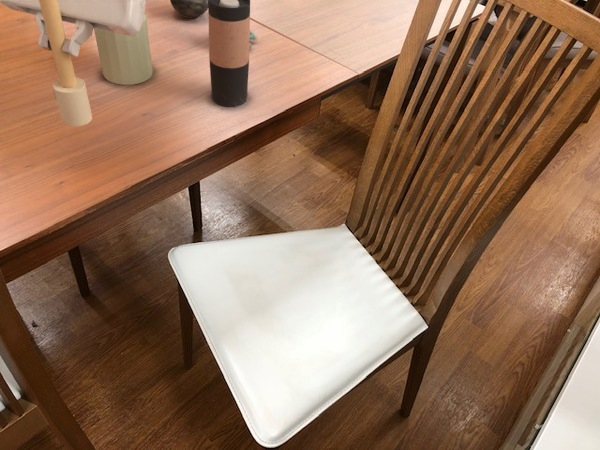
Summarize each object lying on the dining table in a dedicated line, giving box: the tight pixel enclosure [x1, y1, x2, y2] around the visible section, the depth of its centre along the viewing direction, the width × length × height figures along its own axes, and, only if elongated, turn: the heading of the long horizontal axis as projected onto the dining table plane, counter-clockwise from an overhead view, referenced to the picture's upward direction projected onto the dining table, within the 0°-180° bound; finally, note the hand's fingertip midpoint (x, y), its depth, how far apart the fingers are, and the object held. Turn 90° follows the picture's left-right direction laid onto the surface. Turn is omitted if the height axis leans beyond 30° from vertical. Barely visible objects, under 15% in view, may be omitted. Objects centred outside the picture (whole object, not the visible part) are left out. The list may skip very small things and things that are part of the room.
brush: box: [39, 0, 93, 128], centre depth 71 cm, size 4×4×20 cm
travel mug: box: [207, 0, 251, 108], centre depth 97 cm, size 8×8×20 cm
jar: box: [93, 12, 154, 86], centre depth 103 cm, size 10×10×12 cm
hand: (57, 51), depth 70 cm, fingers closed on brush, 2 cm apart
